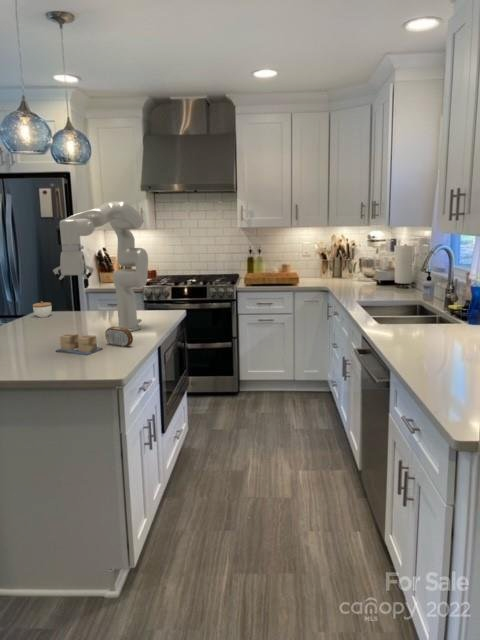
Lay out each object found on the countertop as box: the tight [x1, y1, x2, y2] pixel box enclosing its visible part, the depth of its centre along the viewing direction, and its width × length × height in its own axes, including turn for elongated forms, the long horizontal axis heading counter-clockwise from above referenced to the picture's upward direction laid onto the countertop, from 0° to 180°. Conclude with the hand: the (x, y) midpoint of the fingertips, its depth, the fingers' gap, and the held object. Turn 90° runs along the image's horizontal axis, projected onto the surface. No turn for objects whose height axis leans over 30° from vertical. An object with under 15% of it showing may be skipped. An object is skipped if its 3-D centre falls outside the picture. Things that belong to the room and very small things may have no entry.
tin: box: [105, 326, 134, 348], centre depth 228 cm, size 15×3×8 cm, turn 59°
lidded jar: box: [32, 300, 53, 318], centre depth 301 cm, size 11×11×9 cm
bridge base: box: [55, 333, 104, 356], centre depth 221 cm, size 10×18×7 cm, turn 66°
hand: (75, 288), depth 217 cm, fingers open, 9 cm apart
